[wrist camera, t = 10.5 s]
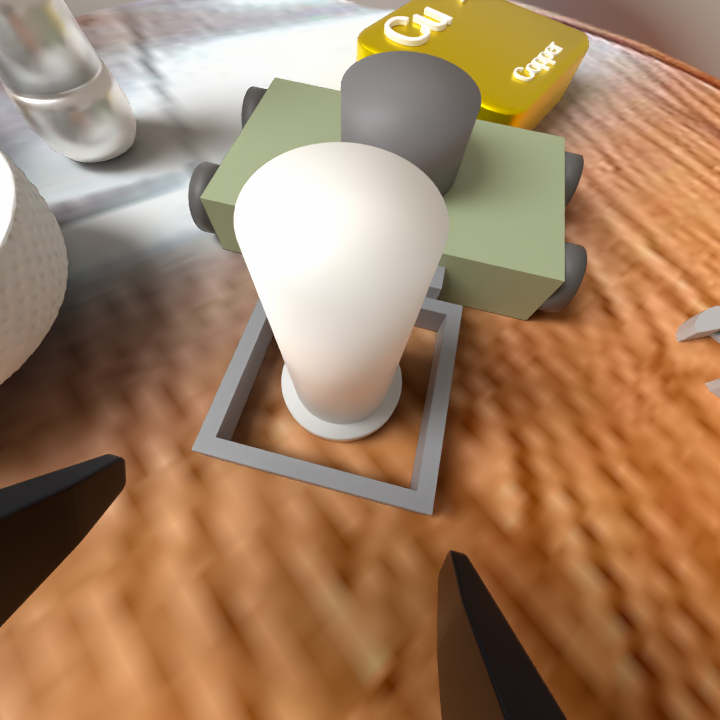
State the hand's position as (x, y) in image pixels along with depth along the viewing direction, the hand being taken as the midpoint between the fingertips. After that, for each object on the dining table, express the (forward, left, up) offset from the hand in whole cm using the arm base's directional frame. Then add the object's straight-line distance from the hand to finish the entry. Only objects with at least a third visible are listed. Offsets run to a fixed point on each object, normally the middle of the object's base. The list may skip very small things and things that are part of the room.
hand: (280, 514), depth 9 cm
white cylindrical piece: (+5, +4, -8) cm, 10 cm away
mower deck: (+10, +9, -8) cm, 16 cm away
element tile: (+30, +21, -9) cm, 38 cm away
